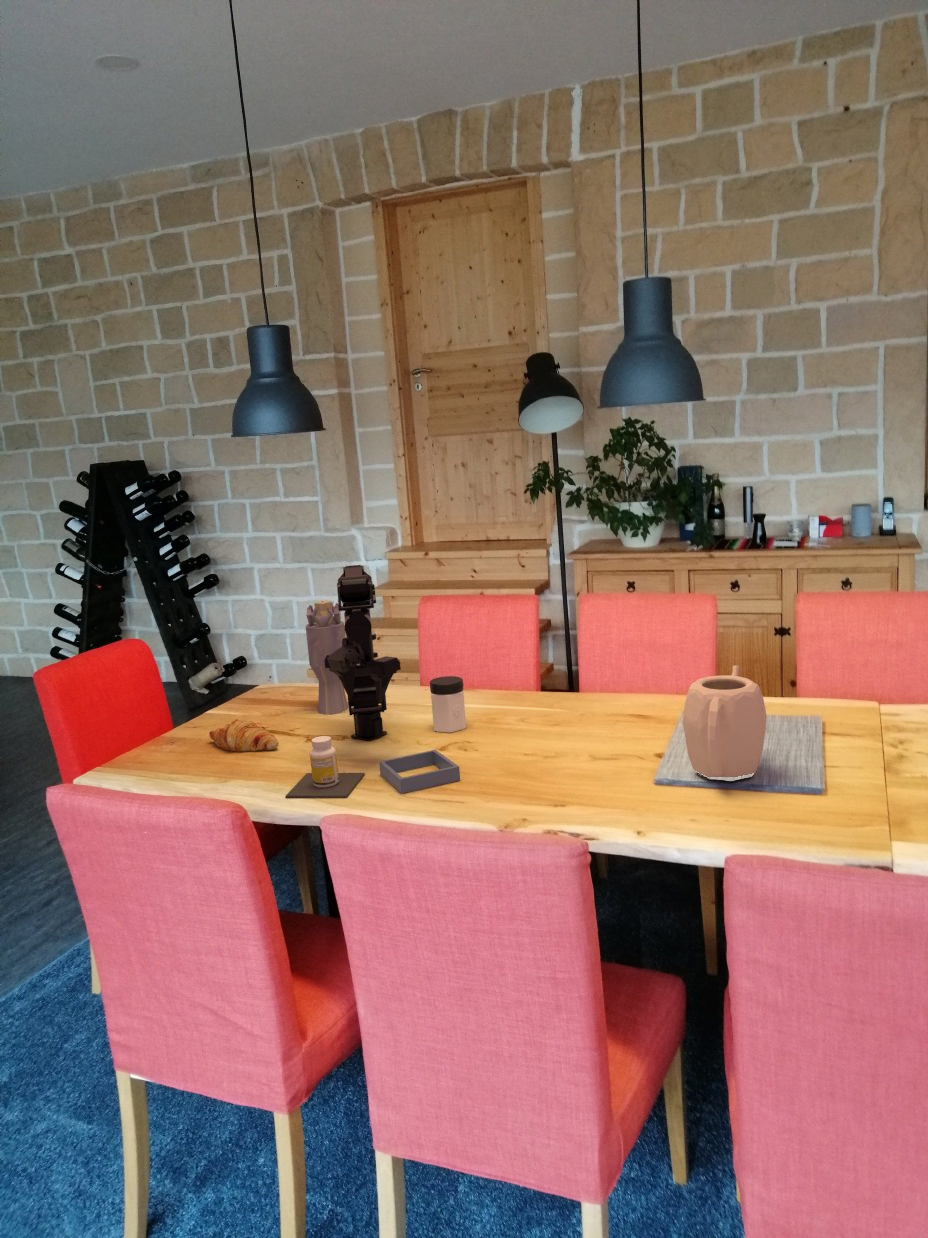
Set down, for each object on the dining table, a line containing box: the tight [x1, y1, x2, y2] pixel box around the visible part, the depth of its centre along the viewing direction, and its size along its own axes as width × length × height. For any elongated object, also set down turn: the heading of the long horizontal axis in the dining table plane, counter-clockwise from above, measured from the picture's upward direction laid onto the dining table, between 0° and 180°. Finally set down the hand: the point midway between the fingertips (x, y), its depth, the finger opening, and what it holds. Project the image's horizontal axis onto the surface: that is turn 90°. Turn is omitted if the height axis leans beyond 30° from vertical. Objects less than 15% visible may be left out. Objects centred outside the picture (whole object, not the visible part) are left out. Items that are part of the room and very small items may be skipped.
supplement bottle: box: [309, 735, 339, 788], centre depth 194 cm, size 5×5×10 cm
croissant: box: [208, 718, 279, 753], centre depth 225 cm, size 21×10×8 cm, turn 63°
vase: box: [305, 600, 349, 715], centre depth 249 cm, size 10×10×30 cm
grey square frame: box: [378, 749, 461, 795], centre depth 195 cm, size 13×13×3 cm
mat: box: [285, 772, 366, 799], centre depth 194 cm, size 13×13×1 cm
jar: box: [429, 675, 467, 734], centre depth 227 cm, size 9×8×12 cm
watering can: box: [682, 665, 767, 777], centre depth 185 cm, size 16×27×19 cm, turn 154°
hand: (365, 699), depth 210 cm, fingers open, 9 cm apart
